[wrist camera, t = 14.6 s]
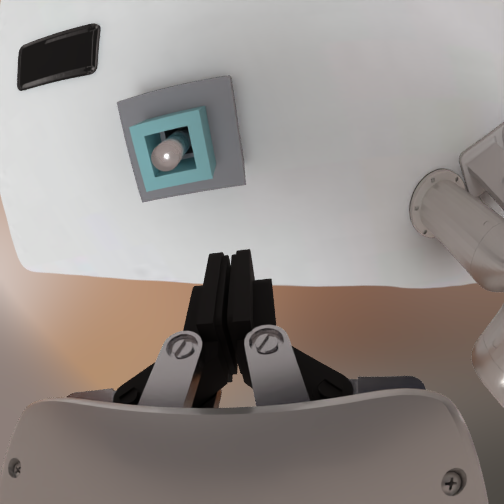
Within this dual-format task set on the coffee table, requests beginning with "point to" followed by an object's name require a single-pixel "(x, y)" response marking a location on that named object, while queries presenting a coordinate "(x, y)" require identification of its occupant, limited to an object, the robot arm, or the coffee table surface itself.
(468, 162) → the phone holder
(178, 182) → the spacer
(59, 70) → the phone
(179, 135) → the shaft
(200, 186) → the bearing block
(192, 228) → the coffee table surface
